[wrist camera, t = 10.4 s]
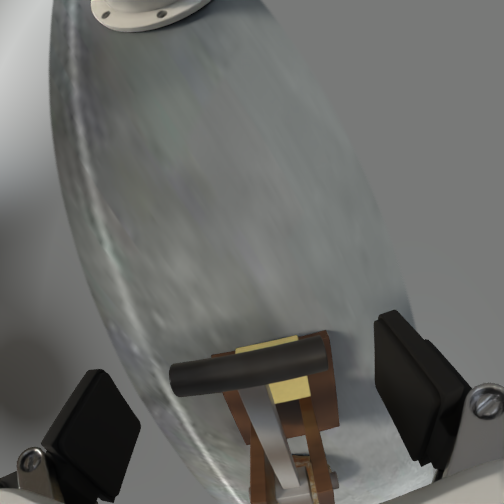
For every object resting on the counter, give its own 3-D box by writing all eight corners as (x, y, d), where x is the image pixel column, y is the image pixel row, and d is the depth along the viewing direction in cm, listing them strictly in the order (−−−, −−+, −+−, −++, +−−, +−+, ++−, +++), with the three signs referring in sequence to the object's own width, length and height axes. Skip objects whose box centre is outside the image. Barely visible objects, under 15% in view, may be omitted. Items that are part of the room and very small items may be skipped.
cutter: (211, 354, 24) (186, 479, 11) (325, 329, 23) (377, 447, 11) (246, 437, 27) (245, 537, 14) (337, 418, 26) (366, 515, 14)
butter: (235, 348, 22) (233, 372, 19) (297, 334, 22) (303, 357, 19) (248, 384, 23) (247, 409, 20) (304, 372, 23) (311, 396, 20)
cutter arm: (175, 350, 12) (162, 388, 9) (315, 321, 11) (330, 357, 9) (255, 488, 16) (256, 513, 14) (334, 474, 16) (340, 498, 13)
